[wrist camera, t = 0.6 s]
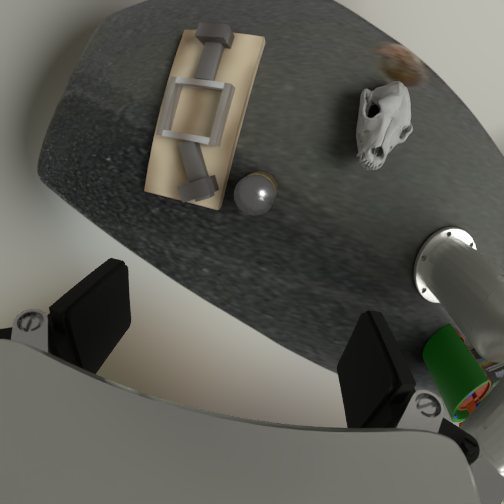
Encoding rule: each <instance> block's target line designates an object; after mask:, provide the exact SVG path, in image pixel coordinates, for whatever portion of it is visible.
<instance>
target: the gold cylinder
mask: <svg viewBox="0 0 504 504" xmlns="http://www.w3.org/2000/svg"><path fill="white" fill-rule="evenodd" d="M277 191H278V184H277V181H276V179H275V178H274V176H273V175H271V174H270V173H268V172H266V171H256V172H254V173H252V174H250V175H248V176H246V177H244V178H243V179H241V180H240V181H239V182H238V183H237V185H236V187H235V190H234V200H235V203H236V205H237V206H238V208H239V209H240V210H241V211H242V212H244V213H246V214H248V215H254V216H256V215H261V214H264V213H266V212H267V211H268V210H269V209H270V208H271V207H272V205H273V203H274V200H275V197H276V194H277Z"/></svg>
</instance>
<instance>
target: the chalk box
mask: <svg viewBox="0 0 504 504" xmlns="http://www.w3.org/2000/svg"><path fill="white" fill-rule="evenodd" d="M471 353H472V354H473V355H474V357H475V359H476V360H477V361H478V363H479V365H480V366H481V367H482V369H483V371H484V372H485V373H486V375H487V377H488V378H489V379H490V381H491V387H490V389H489V391H488V393H487V394H486V395H485V396H484V397H483V399H484V398H485V397H486V396H487V395H488V394H489V393H490V392H491V390H492V389H493V388H494V387H495V386H496V384H497V383H498V382H499V381H500V379H501V378H502V376H503V375H504V362H491V361H488V360H486V359H484V358H482V357H481V356H480V355H479V354H478V353H477V351H476V350H475V349H474V350H471ZM483 399H482V400H481V402H482V401H483Z"/></svg>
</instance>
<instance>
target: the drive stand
mask: <svg viewBox="0 0 504 504" xmlns="http://www.w3.org/2000/svg"><path fill="white" fill-rule="evenodd" d="M264 46H265V39H264V37H261V36H254V35H247V34H240V33H233V32H232V31H231V29H230V27H229V25H228V24H217V23H199V25H198V28H197V30H184V33H183V36H182V39H181V41H180V44H179V47H178V50H177V53H176V56H175V59H174V62H173V66H172V69H171V72H170V75H169V79H168V82H167V86H166V89H165V93H164V97H163V101H162V104H161V108H160V112H159V117H158V121H157V125H156V130H155V134H154V139H153V144H152V149H151V154H150V159H149V165H148V171H147V177H146V183H145V189H144V191H146V192H150V193H154V194H158V195H162V196H166V197H170V198H174V199H177V200H181V201H182V202H183V203H184V202H189V203H193V204H197V205H200V206H204V207H208V208H212V209H215V210H219V209H220V208H221V207H222V203H223V198H224V194H225V190H226V186H227V181H228V177H229V173H230V169H231V165H232V161H233V157H234V153H235V149H236V145H237V141H238V137H239V134H240V130H241V126H242V122H243V119H244V115H245V111H246V107H247V104H248V100H249V97H250V93H251V90H252V86H253V83H254V79H255V76H256V72H257V69H258V65H259V62H260V59H261V56H262V52H263V49H264Z"/></svg>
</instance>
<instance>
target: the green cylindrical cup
mask: <svg viewBox="0 0 504 504" xmlns="http://www.w3.org/2000/svg"><path fill="white" fill-rule="evenodd" d="M423 360H424V362H425V364H426V366H427V368H428V370H429V372H430V374H431V376H432V378H433V380H434V382H435V384H436V386H437V388H438V390H439V392H440V394H441V397H442V399H443V401H444V403H445V405H446V408H447V410H448V412H449V414H450V417H451V419H452V421H454V422H461V421H463V422H464V421H465V419H466V418H467V417H468V416H469V415H470V414H471V412H472V411H473V410H474V409H475V408H476V407H477V406H478V405H479V404H480V403H481V400H482V399H483V397H484V396H485V395H486V394H487V393H488V391H489V389H490V387H491V381H490V379H489V378H488V377H487V375H486V373H485V372H484V371H483V369H482V367H481V366H480V365H479V363H478V361H477V360H476V359H475V357H474V355H473V354H472V353H471V351H470V350H469V348H468V347H467V346H466V345H465V340H464V338H463V337H462V336H461V334H460V333H459V332H458V331H457V330H455V329H453V327H452V326H451V325H450V324H449V325H446V326H444V327H442V328H441V329H439V330H438V331H437V332H436V333H434V334H433V335H432V337H431V338H430V339H429V340H428V342H427V343H426V345H425V347H424V350H423ZM463 422H461V423H459V427H461V425H462V423H463Z"/></svg>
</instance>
